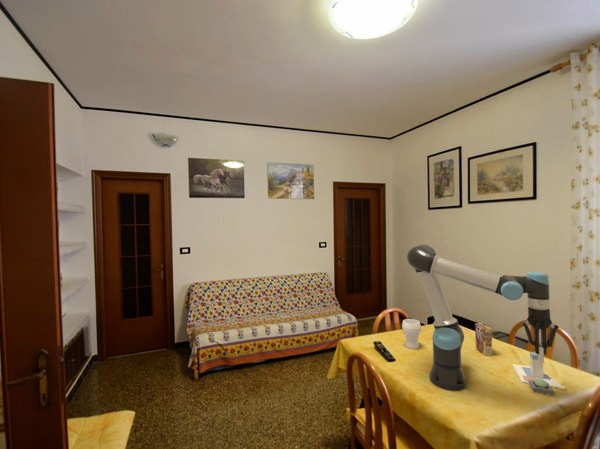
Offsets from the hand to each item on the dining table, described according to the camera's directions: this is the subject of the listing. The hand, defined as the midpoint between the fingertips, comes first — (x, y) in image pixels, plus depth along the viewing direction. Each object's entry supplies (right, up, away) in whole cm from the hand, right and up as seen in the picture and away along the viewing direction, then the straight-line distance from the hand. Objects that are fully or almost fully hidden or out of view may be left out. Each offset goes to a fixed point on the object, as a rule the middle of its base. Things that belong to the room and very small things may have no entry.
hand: (540, 361), depth 129 cm
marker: (+7, -12, +11) cm, 18 cm away
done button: (0, -11, 0) cm, 11 cm away
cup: (-38, -14, +49) cm, 63 cm away
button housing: (0, -13, 0) cm, 13 cm away
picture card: (+7, -13, +11) cm, 18 cm away
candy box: (-1, -13, +38) cm, 40 cm away
